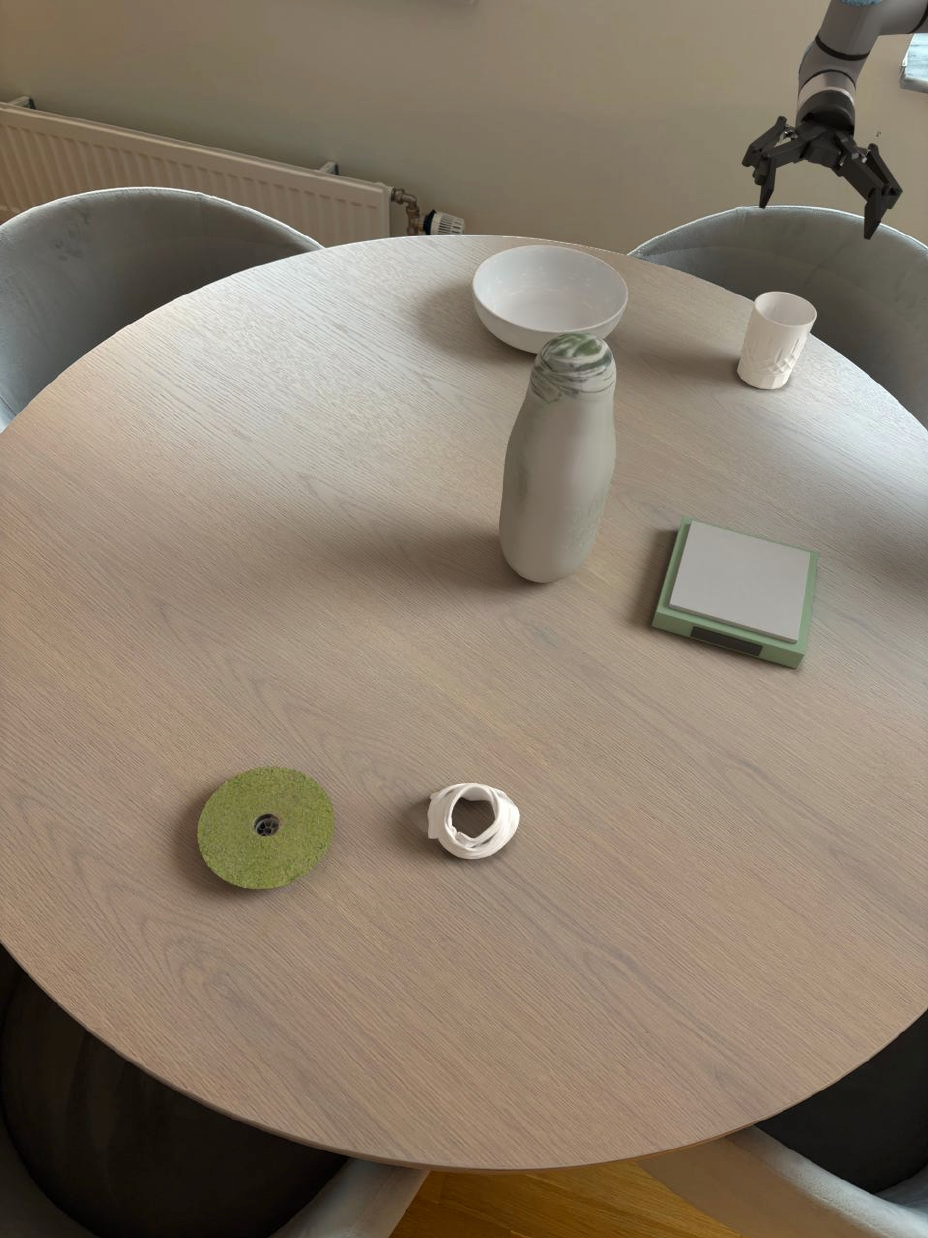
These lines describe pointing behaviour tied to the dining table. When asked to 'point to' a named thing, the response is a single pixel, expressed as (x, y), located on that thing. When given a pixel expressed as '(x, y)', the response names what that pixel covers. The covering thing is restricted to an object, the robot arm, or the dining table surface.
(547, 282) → the serving bowl
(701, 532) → the kitchen scale
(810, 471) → the dining table surface
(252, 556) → the dining table surface
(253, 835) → the green abrasive disc
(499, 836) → the white rolled strap
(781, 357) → the white cup
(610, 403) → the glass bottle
